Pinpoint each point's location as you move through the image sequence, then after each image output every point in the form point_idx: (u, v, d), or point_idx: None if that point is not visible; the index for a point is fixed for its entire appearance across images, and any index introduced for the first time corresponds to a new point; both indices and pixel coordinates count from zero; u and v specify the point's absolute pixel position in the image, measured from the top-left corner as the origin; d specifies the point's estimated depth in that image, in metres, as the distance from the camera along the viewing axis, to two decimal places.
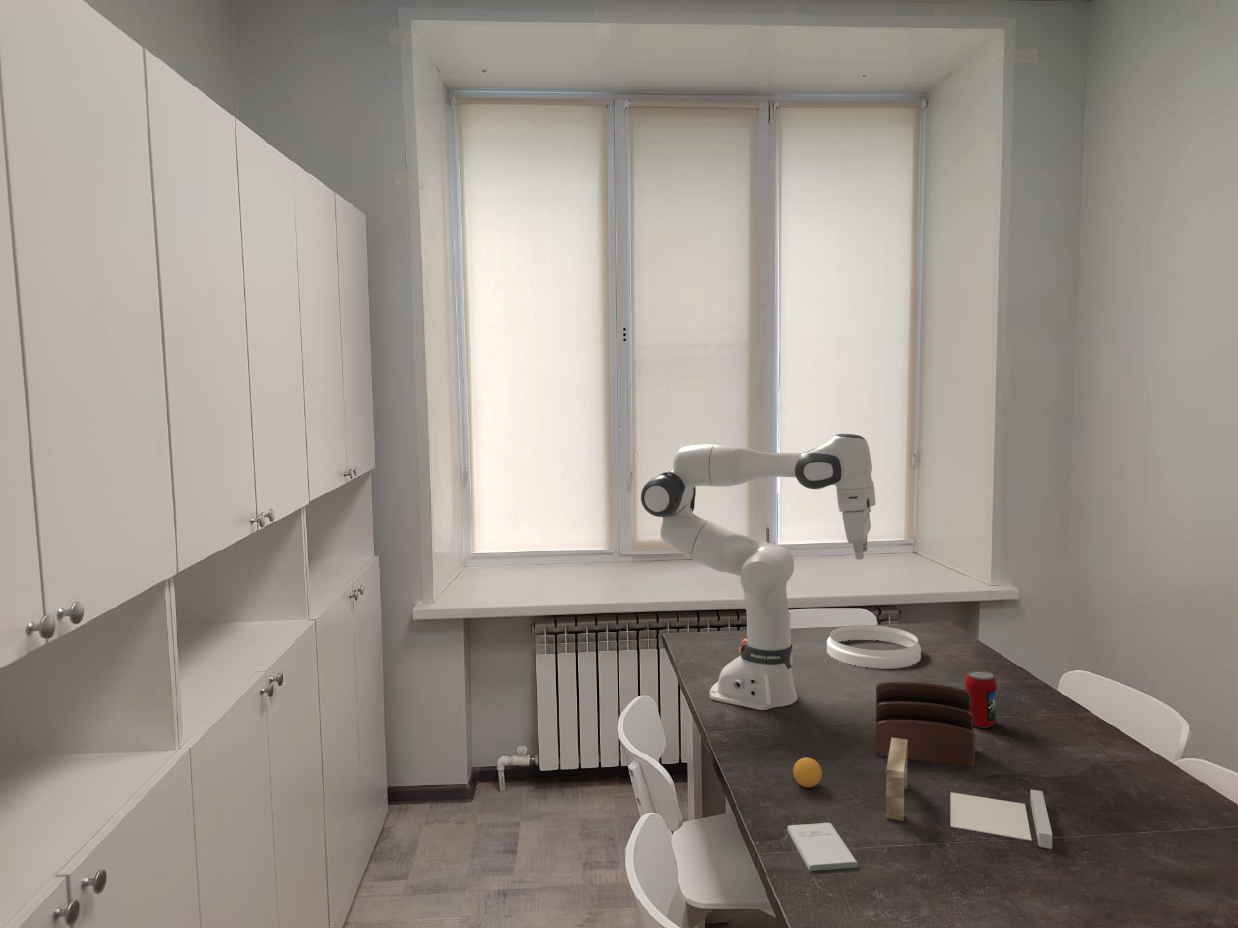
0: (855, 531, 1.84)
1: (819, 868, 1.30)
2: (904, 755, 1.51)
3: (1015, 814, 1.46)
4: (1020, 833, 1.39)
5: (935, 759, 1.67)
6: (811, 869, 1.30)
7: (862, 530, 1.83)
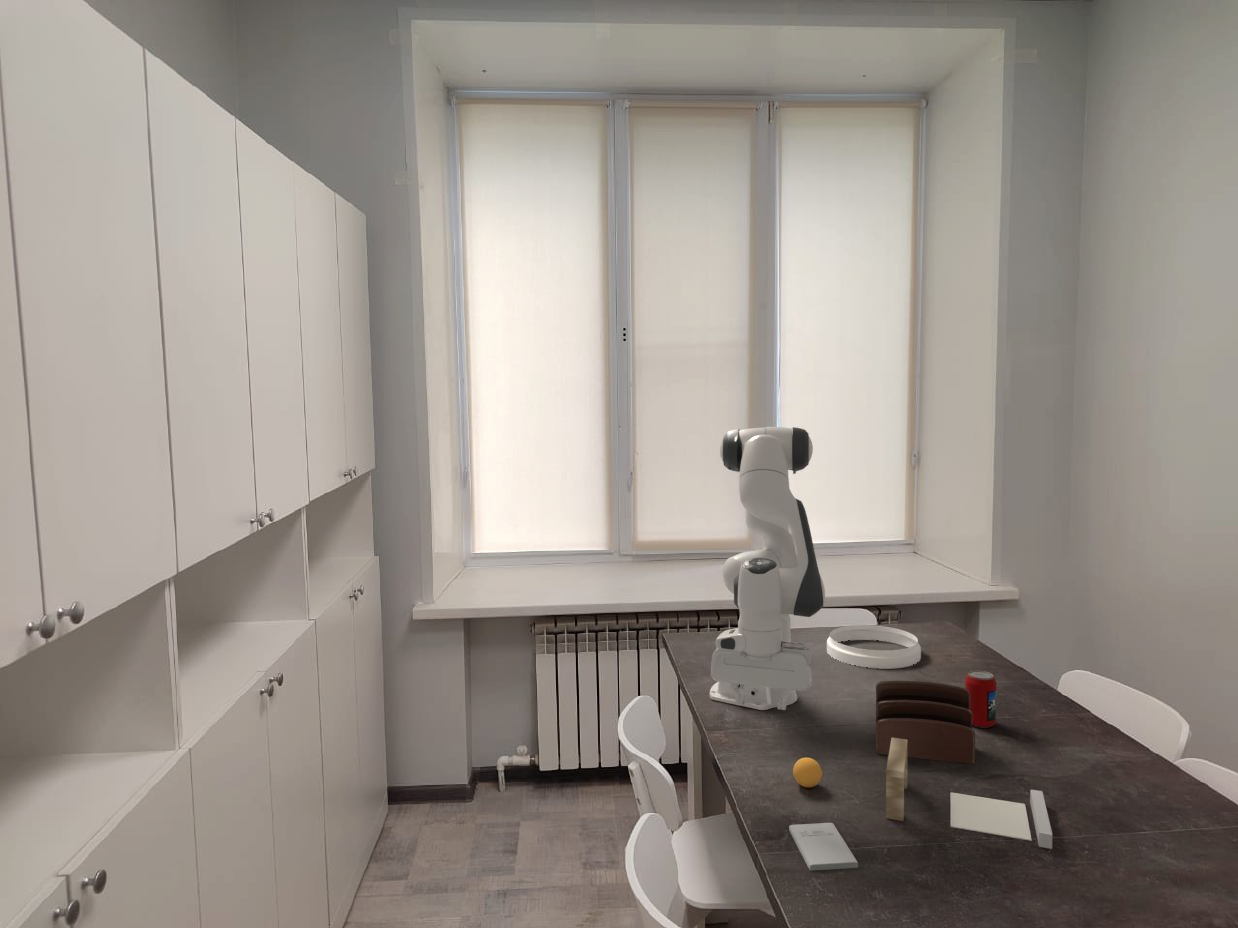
0: None
1: (819, 868, 1.30)
2: (904, 755, 1.51)
3: (1015, 814, 1.46)
4: (1020, 833, 1.39)
5: (935, 757, 1.68)
6: (811, 868, 1.30)
7: (711, 667, 1.62)
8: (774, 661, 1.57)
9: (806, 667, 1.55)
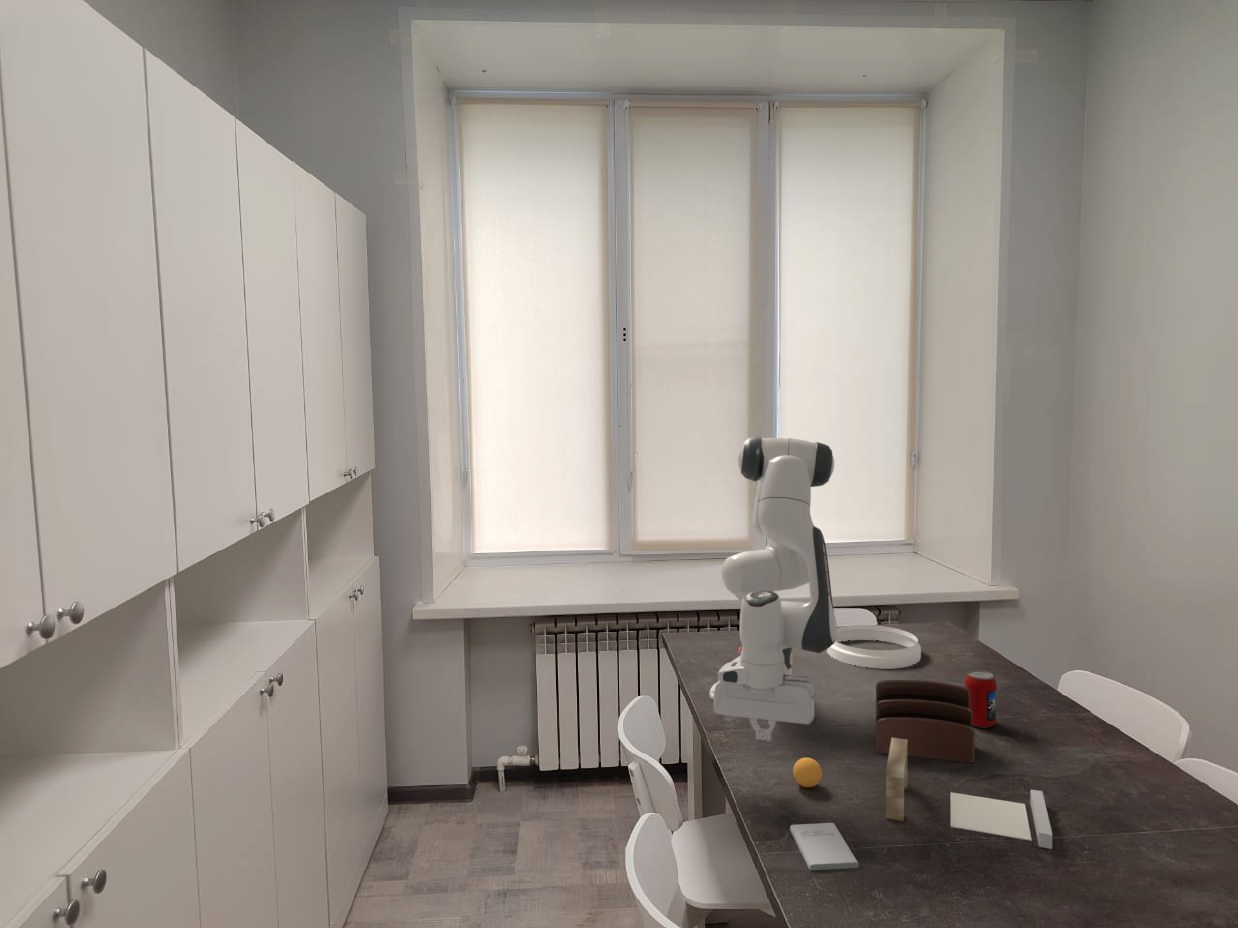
0: None
1: (819, 868, 1.30)
2: (904, 755, 1.51)
3: (1015, 814, 1.46)
4: (1020, 833, 1.39)
5: (935, 756, 1.69)
6: (811, 868, 1.30)
7: (713, 700, 1.62)
8: (777, 694, 1.57)
9: (809, 700, 1.55)
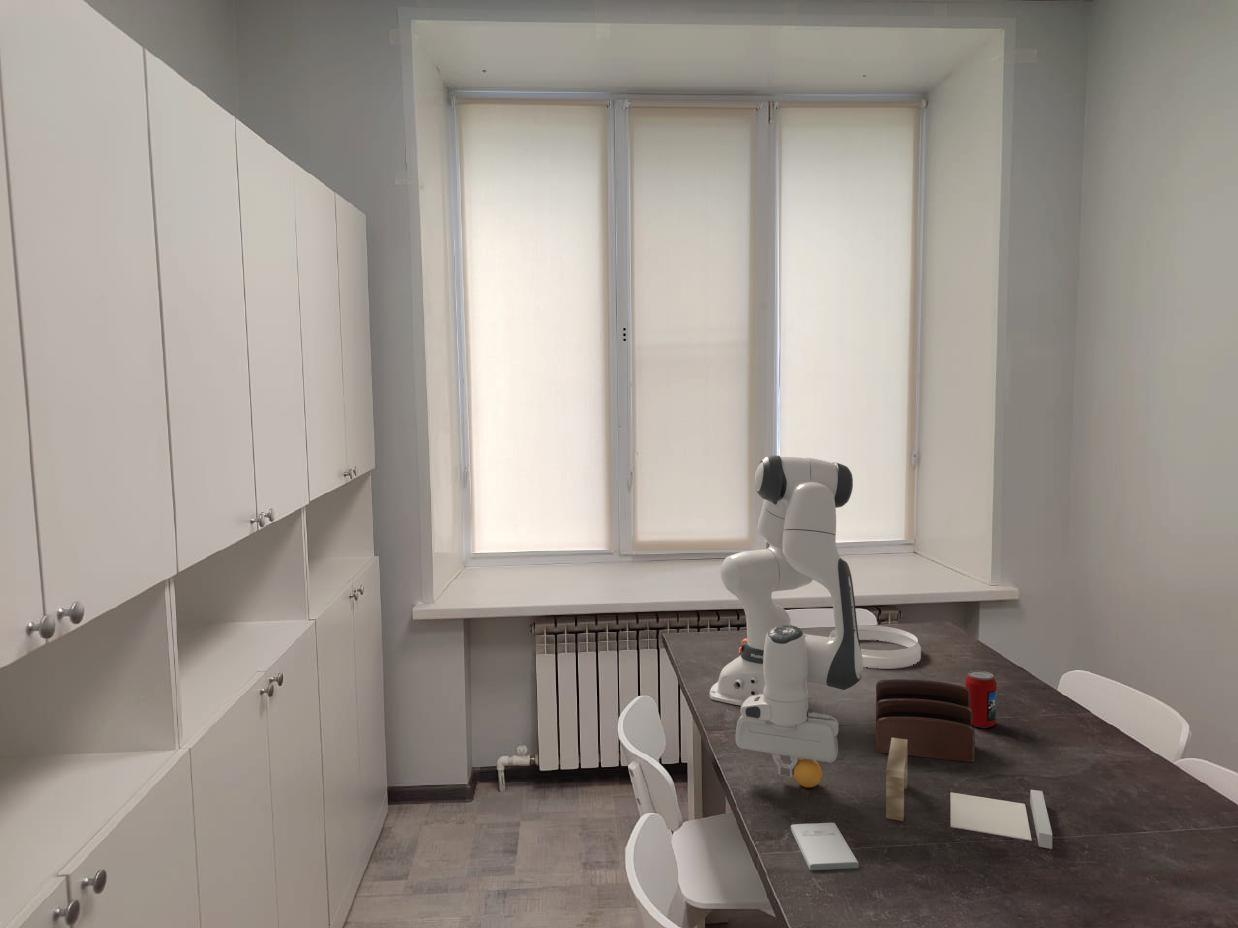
0: None
1: (819, 867, 1.30)
2: (904, 755, 1.51)
3: (1015, 814, 1.46)
4: (1020, 833, 1.39)
5: (935, 755, 1.69)
6: (811, 868, 1.30)
7: (736, 734, 1.61)
8: (800, 731, 1.56)
9: (832, 738, 1.54)
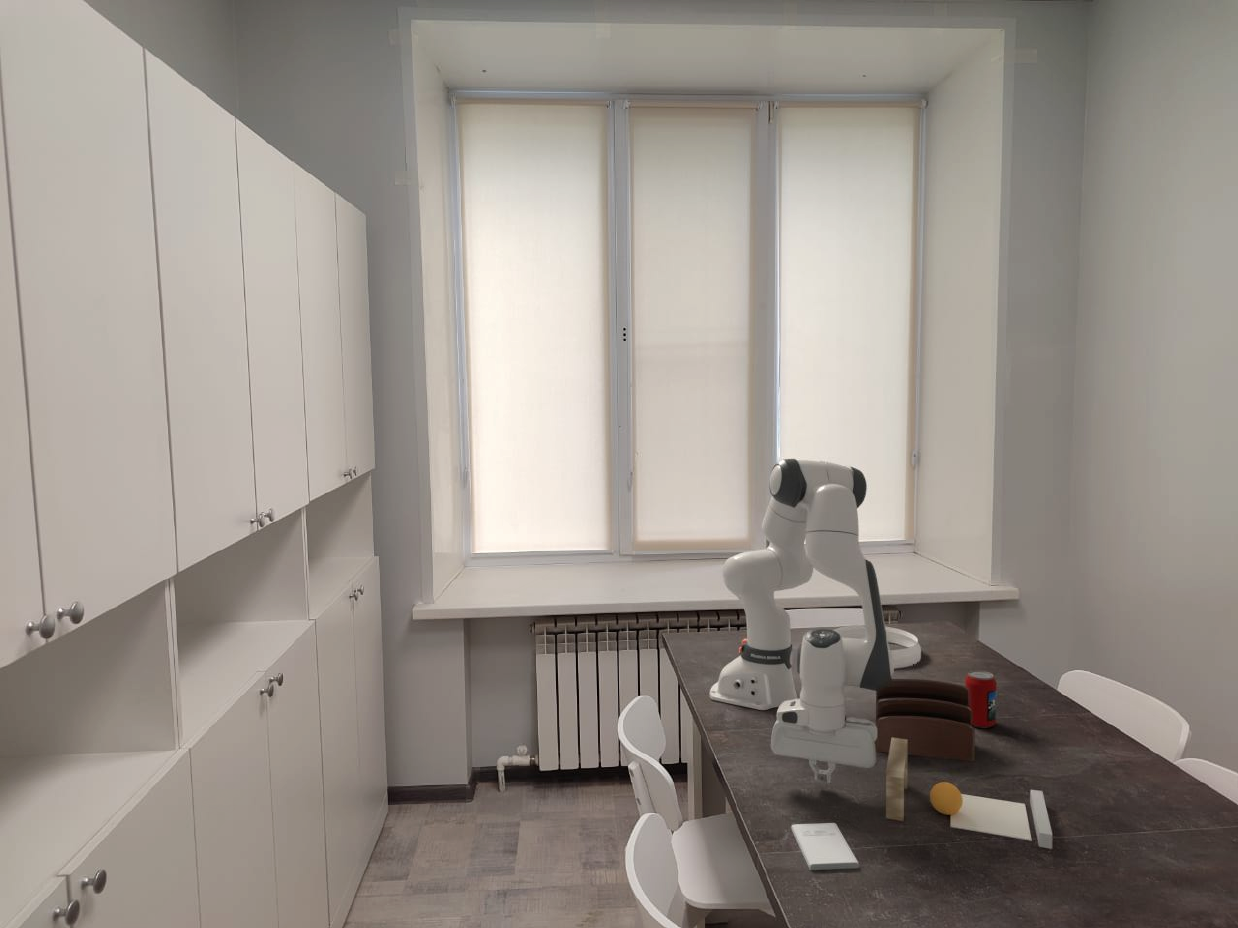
0: None
1: (820, 867, 1.31)
2: (904, 755, 1.51)
3: (1015, 814, 1.46)
4: (1020, 833, 1.39)
5: (935, 754, 1.69)
6: (811, 868, 1.30)
7: (771, 739, 1.59)
8: (838, 736, 1.54)
9: (871, 744, 1.51)
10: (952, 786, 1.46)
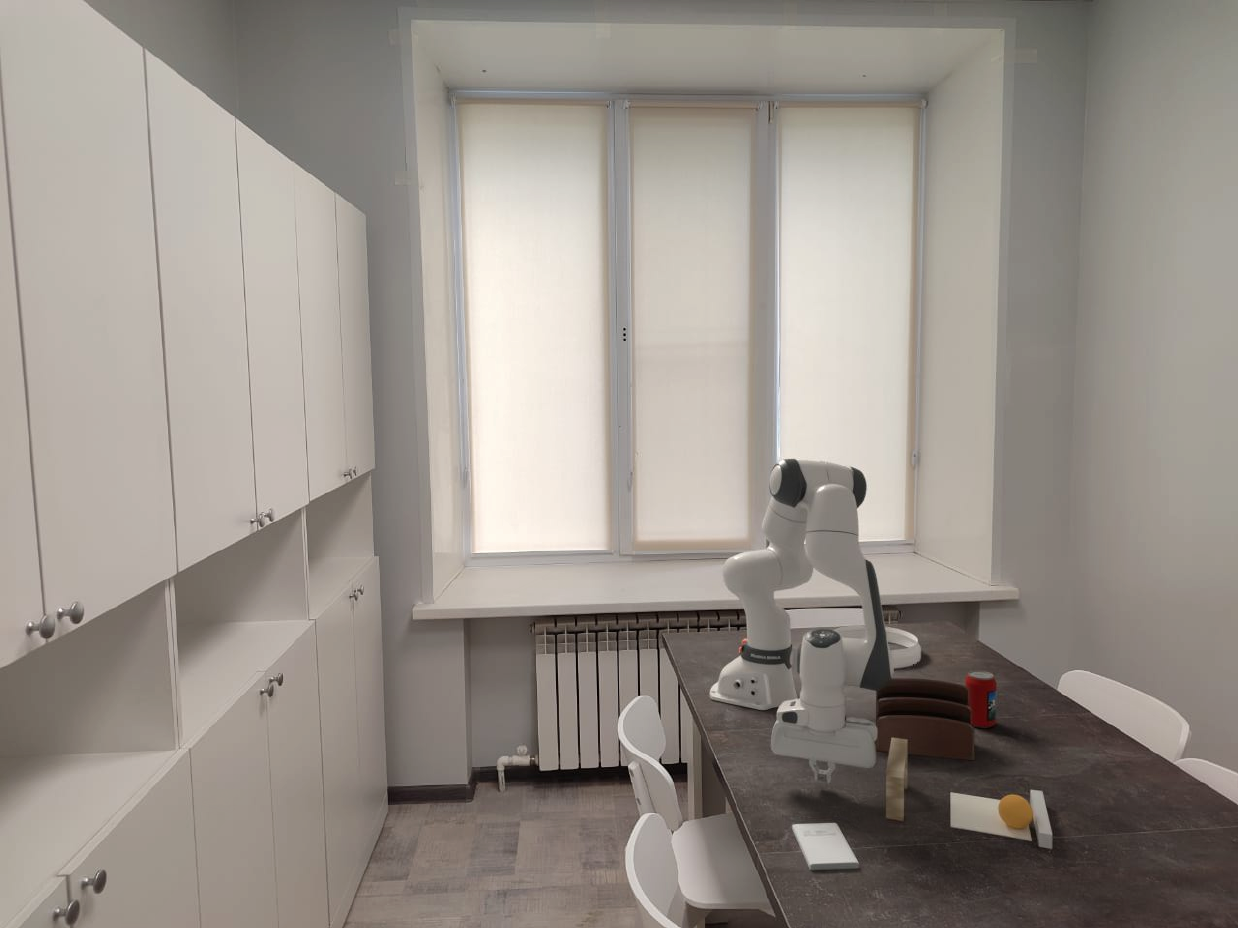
0: None
1: (820, 867, 1.31)
2: (904, 755, 1.51)
3: None
4: (1020, 833, 1.39)
5: (935, 753, 1.70)
6: (812, 868, 1.30)
7: (771, 739, 1.59)
8: (838, 736, 1.54)
9: (871, 744, 1.51)
10: (998, 808, 1.43)
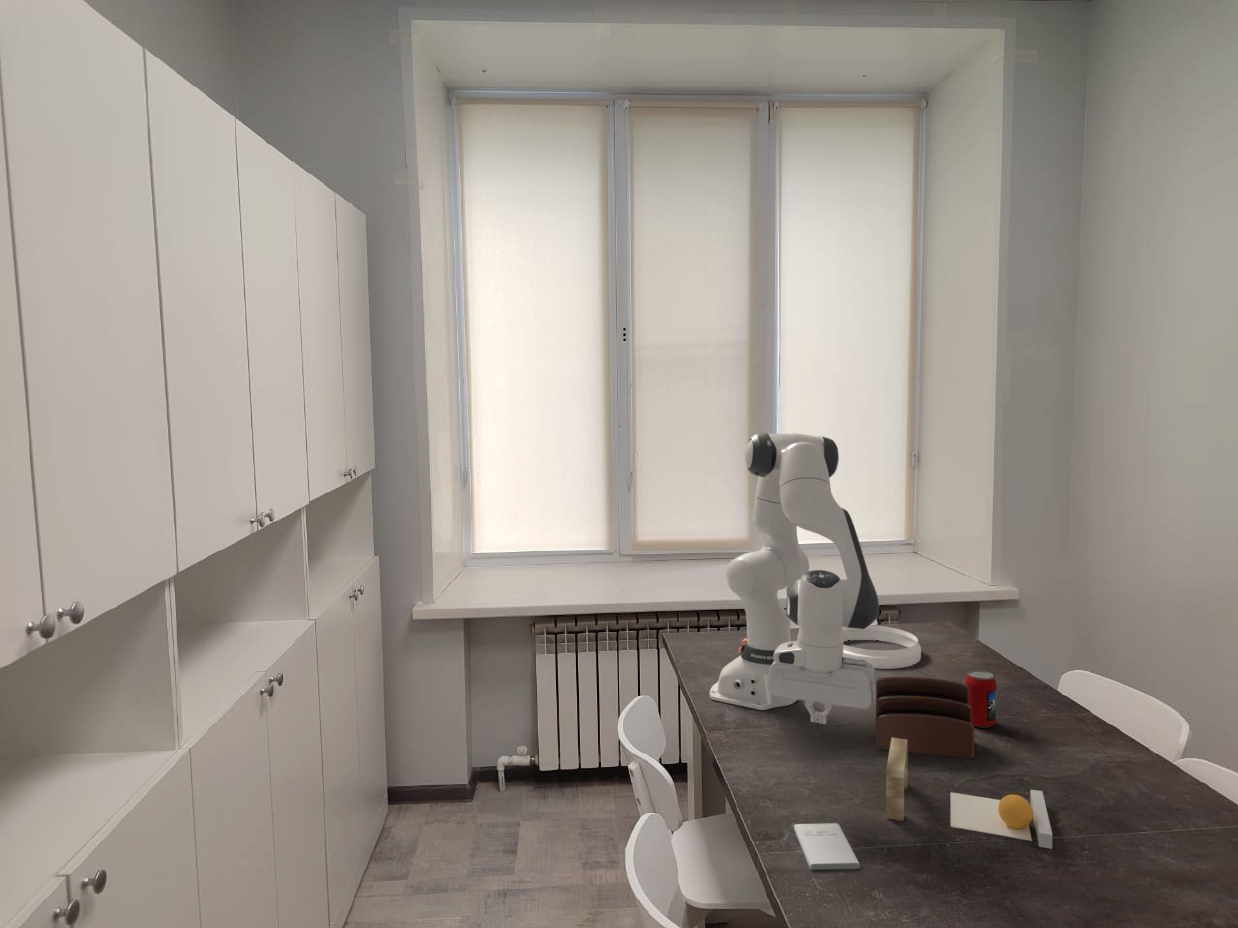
0: None
1: (820, 867, 1.31)
2: (904, 755, 1.51)
3: None
4: (1020, 833, 1.39)
5: (935, 752, 1.71)
6: (812, 868, 1.31)
7: (767, 681, 1.58)
8: (834, 677, 1.53)
9: (868, 685, 1.50)
10: (998, 808, 1.43)
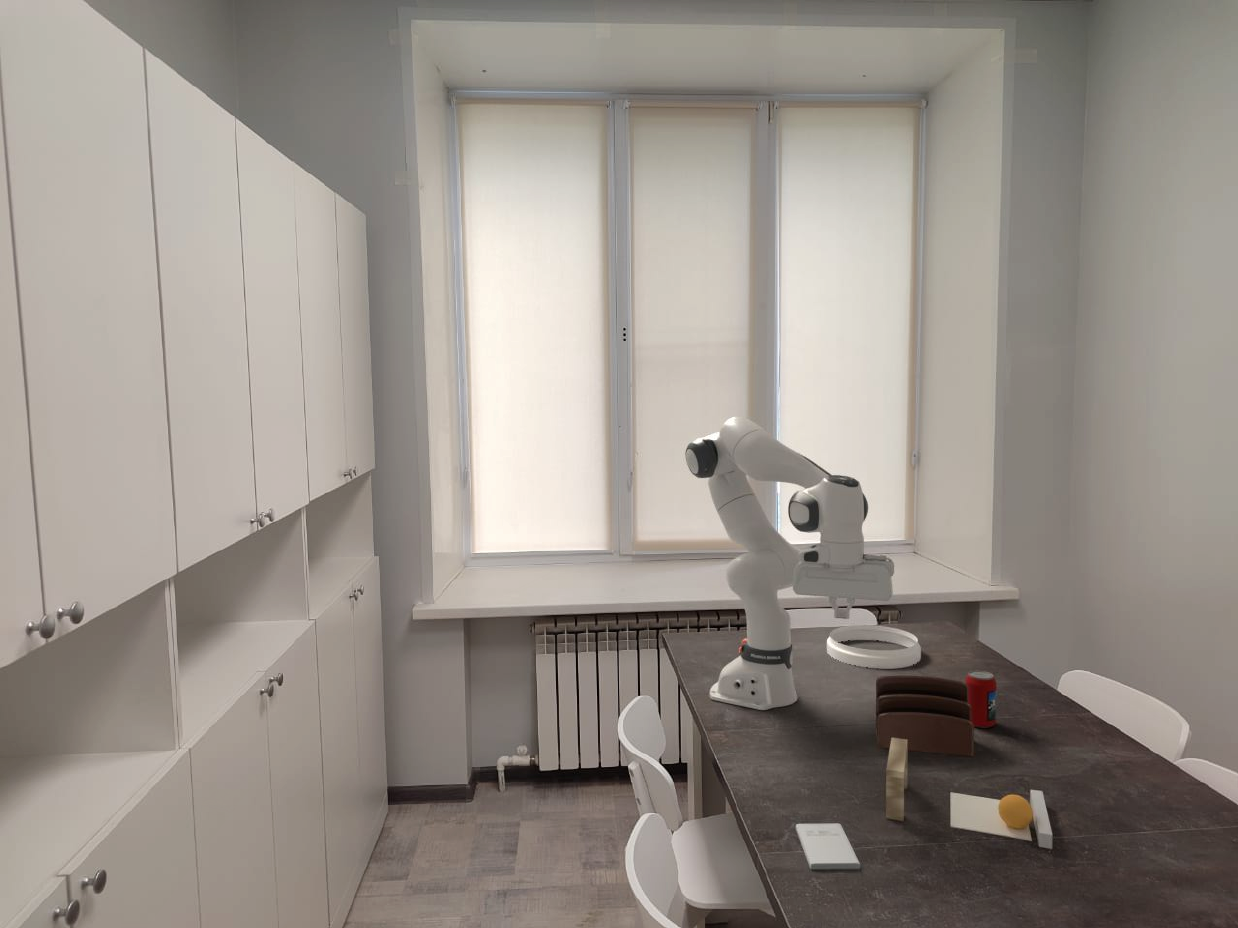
0: None
1: (820, 867, 1.31)
2: (904, 755, 1.51)
3: None
4: (1020, 833, 1.39)
5: (935, 750, 1.72)
6: (812, 867, 1.31)
7: (793, 581, 1.68)
8: (856, 573, 1.63)
9: (888, 577, 1.61)
10: (998, 808, 1.43)
